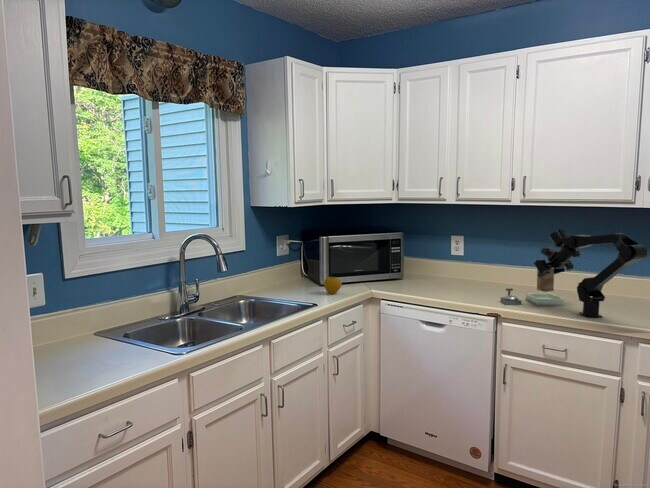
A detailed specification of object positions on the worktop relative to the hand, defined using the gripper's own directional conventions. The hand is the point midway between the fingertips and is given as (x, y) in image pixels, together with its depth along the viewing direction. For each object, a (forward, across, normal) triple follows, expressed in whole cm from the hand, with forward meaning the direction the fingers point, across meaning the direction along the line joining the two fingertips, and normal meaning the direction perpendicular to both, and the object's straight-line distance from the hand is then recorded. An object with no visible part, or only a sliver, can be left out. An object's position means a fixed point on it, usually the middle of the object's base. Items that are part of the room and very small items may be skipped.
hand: (543, 275), depth 223 cm
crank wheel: (+10, +15, +5) cm, 19 cm away
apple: (+46, +85, -29) cm, 101 cm away
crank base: (+11, +15, +6) cm, 20 cm away
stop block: (+4, 0, +6) cm, 7 cm away
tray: (+8, 0, +10) cm, 13 cm away
